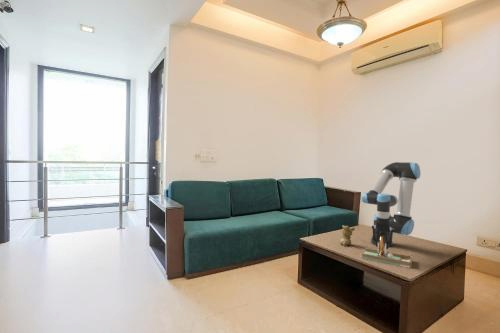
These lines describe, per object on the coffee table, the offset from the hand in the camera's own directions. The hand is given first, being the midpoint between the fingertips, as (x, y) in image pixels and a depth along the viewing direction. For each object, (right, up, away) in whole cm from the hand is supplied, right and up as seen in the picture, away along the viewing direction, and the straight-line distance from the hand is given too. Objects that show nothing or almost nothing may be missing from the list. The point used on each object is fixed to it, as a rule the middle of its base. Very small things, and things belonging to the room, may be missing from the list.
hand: (382, 252), depth 176 cm
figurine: (-13, -3, +28) cm, 31 cm away
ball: (+4, -1, -2) cm, 5 cm away
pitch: (+2, -4, -1) cm, 5 cm away
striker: (0, -3, 0) cm, 3 cm away
